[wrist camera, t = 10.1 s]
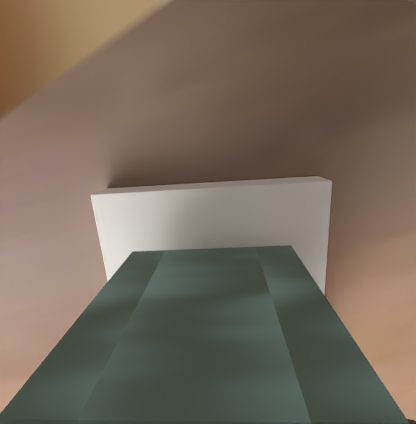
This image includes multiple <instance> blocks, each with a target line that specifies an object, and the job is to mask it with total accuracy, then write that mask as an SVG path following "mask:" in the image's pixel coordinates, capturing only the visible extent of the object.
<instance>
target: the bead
mask: <svg viewBox="0 0 416 424" xmlns="http://www.w3.org/2000/svg"><path fill="white" fill-rule="evenodd" d="M0 424H409V422H408V420H407V419H406V417H405V416H404V414H403V413H402V411H401V410H400V408H399V407H398V405H397V404H396V402H395V401H394V399H393V398H392V396H391V395H390V393H389V392H388V390H387V389H386V387H385V386H384V384H383V383H382V381H381V380H380V378H379V377H378V375H377V374H376V372H375V371H374V369H373V368H372V366H371V365H370V363H369V362H368V360H367V359H366V357H365V356H364V354H363V353H362V351H361V350H360V348H359V347H358V345H357V344H356V342H355V341H354V339H353V338H352V336H351V335H350V333H349V332H348V330H347V329H346V327H345V326H344V324H343V323H342V321H341V320H340V318H339V317H338V315H337V314H336V312H335V311H334V309H333V308H332V306H331V305H330V303H329V302H328V300H327V299H326V297H325V296H324V294H323V293H322V291H321V290H320V288H319V287H318V285H317V284H316V282H315V281H314V279H313V278H312V276H311V275H310V273H309V272H308V270H307V269H306V267H305V266H304V264H303V263H302V261H301V260H300V258H299V257H298V255H297V254H296V252H295V251H294V249H293V248H292V246H291V245H284V246H259V247H234V248H209V249H183V250H158V251H133V252H132V253H131V254H130V255H129V256H128V258H127V259H126V260H125V261H124V262H123V264H122V265H121V266H120V267H119V269H118V270H117V271H116V272H115V274H114V275H113V276H112V277H111V278H110V280H109V281H108V282H107V283H106V285H105V286H104V287H103V288H102V289H101V291H100V292H99V293H98V294H97V296H96V297H95V298H94V299H93V301H92V302H91V303H90V304H89V305H88V307H87V308H86V309H85V310H84V312H83V313H82V314H81V315H80V317H79V318H78V319H77V320H76V321H75V323H74V324H73V325H72V326H71V328H70V329H69V330H68V331H67V333H66V334H65V335H64V336H63V337H62V339H61V340H60V341H59V342H58V344H57V345H56V346H55V347H54V348H53V350H52V351H51V352H50V353H49V355H48V356H47V357H46V358H45V360H44V361H43V362H42V363H41V364H40V366H39V367H38V368H37V369H36V371H35V372H34V373H33V374H32V376H31V377H30V378H29V379H28V380H27V382H26V383H25V384H24V385H23V387H22V388H21V389H20V390H19V391H18V393H17V394H16V395H15V396H14V398H13V399H12V400H11V401H10V403H9V404H8V405H7V406H6V407H5V409H4V410H3V411H2V412H1V414H0Z"/></svg>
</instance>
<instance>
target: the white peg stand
mask: <svg viewBox="0 0 416 424" xmlns="http://www.w3.org/2000/svg"><path fill="white" fill-rule="evenodd" d="M331 191H332V181H331V180H328V179H325V178H322V177H319V176H309V177H292V178H275V179H258V180H241V181H224V182H207V183H190V184H173V185H156V186H139V187H122V188H106V189H104V190H101V191H99V192H96V193H94V194H91V200H92V205H93V210H94V215H95V220H96V225H97V230H98V235H99V240H100V245H101V250H102V255H103V260H104V265H105V270H106V275H107V280H108V281H109V280H110V278H111V277H112V276H113V275H114V274H115V272H116V271H117V270H118V269H119V267H120V266H121V265H122V264H123V262H124V261H125V260H126V259H127V258H128V256H129V255H130V254H131V253H132V252H133V251H158V250H183V249H209V248H234V247H259V246H284V245H291V246H292V248H293V249H294V251H295V252H296V254H297V255H298V257H299V258H300V260H301V261H302V263H303V264H304V266H305V267H306V269H307V270H308V272H309V273H310V275H311V276H312V278H313V279H314V281H315V282H316V284H317V285H318V287H319V288H320V290H321V291H322V293H323V294H324V292H325V278H326V263H327V249H328V234H329V220H330V205H331Z"/></svg>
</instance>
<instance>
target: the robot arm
mask: <svg viewBox="0 0 416 424" xmlns="http://www.w3.org/2000/svg"><path fill="white" fill-rule="evenodd" d="M407 420H408V422H409V424H416V421H414V420H410V419H407Z"/></svg>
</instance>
